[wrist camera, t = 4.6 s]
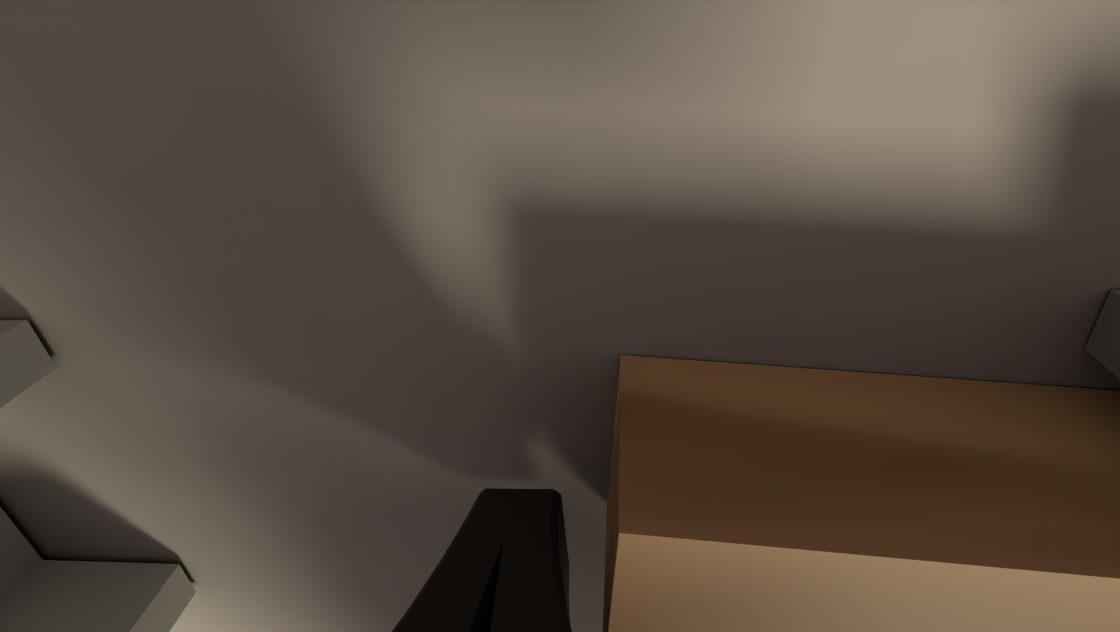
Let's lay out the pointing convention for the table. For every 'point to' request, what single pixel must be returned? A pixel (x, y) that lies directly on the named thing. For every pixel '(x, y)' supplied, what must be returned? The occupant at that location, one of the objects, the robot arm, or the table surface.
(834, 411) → the brown wooden block
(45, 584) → the cap
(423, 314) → the table surface
